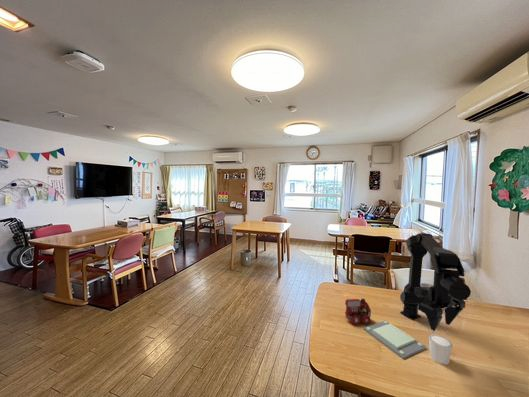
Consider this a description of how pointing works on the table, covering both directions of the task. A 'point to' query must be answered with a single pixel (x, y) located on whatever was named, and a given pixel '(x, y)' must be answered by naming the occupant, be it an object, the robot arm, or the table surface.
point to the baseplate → (395, 339)
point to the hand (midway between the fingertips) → (440, 327)
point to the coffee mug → (426, 286)
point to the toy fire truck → (358, 311)
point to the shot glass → (440, 349)
